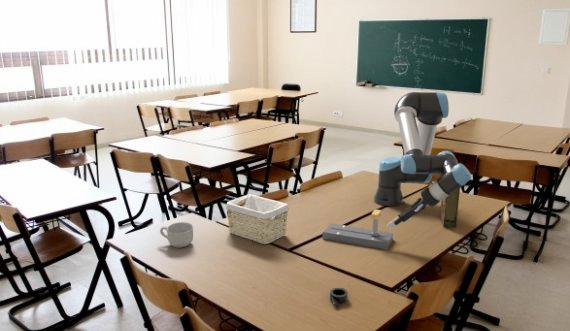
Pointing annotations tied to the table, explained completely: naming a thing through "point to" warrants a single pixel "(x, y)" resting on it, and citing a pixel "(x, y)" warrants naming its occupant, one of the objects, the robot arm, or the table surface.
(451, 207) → the book
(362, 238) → the fader console
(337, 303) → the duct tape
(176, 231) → the teacup
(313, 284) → the table surface
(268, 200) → the storage basket
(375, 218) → the fader knob
